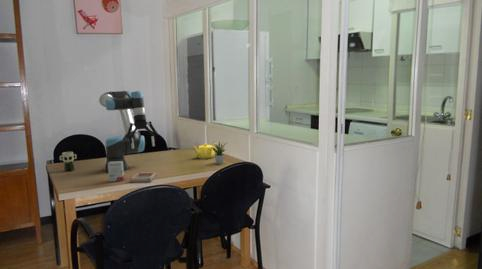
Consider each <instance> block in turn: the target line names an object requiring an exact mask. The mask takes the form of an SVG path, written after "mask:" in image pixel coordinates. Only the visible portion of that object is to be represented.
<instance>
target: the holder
mask: <svg viewBox="0 0 482 269" xmlns="http://www.w3.org/2000/svg"><path fill="white" fill-rule="evenodd" d="M157 177H158V174H157V172H152V171H151V172H137V173H136V174H134V175H133V176H132V177H131V178H130V180H129V183H130V182H135V183H152V182H153V181H154V180H155V179H156V178H157ZM135 183H134V184H135Z"/></svg>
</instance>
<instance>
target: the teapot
mask: <svg viewBox="0 0 482 269" xmlns="http://www.w3.org/2000/svg"><path fill="white" fill-rule="evenodd" d="M214 144H216V145H218V142H214ZM214 144H213V145H212V144H211V145H210V144H208V143H203V144H202V145H199V146H198V147H197V146H192V147H193V148H194V152H195V155H196V157H197V159H199V160H200V159H201V160H207V159H213V158H215V154H216V152H215V151H214V150H213V149H211V148H210V147H212V148H214V149H216V150H217V148H216V146H215V145H214ZM211 150H212V151H211Z"/></svg>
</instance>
